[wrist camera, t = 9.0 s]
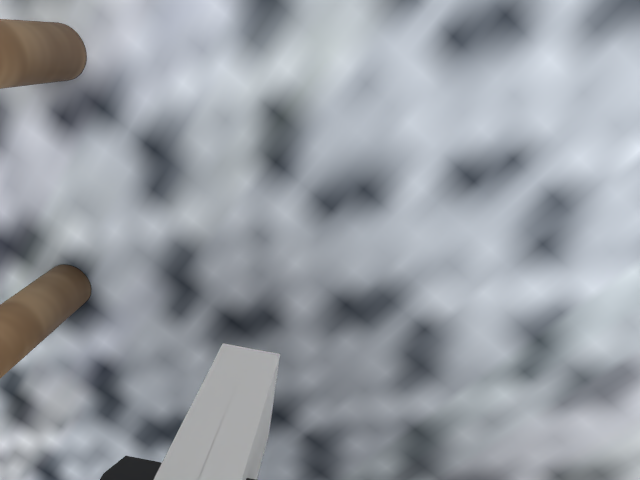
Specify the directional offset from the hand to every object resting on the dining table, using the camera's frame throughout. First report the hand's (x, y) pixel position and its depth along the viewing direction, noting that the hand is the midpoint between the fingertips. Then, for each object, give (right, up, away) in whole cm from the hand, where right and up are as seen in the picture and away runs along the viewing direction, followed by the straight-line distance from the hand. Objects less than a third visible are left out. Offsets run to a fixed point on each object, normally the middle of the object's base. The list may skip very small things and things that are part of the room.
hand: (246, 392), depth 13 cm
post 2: (-12, +1, +16) cm, 20 cm away
